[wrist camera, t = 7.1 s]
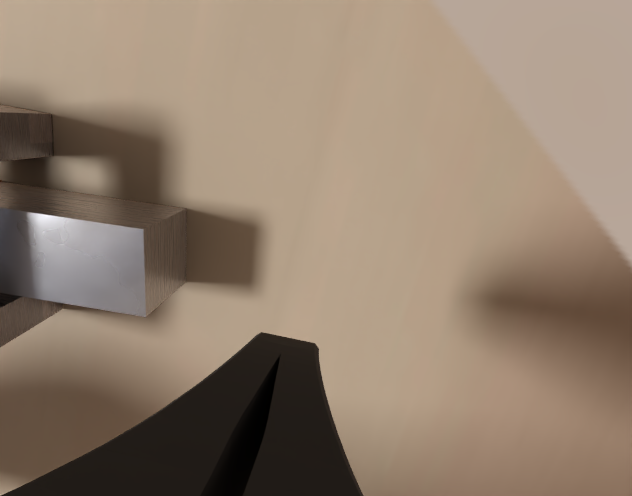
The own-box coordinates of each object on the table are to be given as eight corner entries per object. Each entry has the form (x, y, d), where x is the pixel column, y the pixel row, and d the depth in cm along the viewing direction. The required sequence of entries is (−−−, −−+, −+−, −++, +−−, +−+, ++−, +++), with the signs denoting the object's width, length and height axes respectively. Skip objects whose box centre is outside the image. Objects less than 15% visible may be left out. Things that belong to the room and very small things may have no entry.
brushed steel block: (-86, 239, 16) (-185, 264, 13) (-103, 165, 15) (-215, 175, 12) (186, 282, 15) (144, 319, 12) (186, 207, 14) (141, 228, 11)
